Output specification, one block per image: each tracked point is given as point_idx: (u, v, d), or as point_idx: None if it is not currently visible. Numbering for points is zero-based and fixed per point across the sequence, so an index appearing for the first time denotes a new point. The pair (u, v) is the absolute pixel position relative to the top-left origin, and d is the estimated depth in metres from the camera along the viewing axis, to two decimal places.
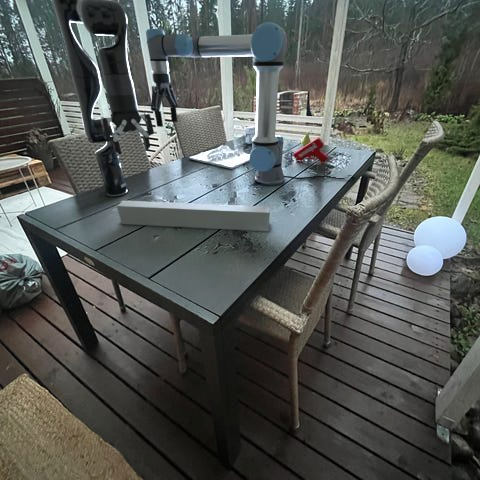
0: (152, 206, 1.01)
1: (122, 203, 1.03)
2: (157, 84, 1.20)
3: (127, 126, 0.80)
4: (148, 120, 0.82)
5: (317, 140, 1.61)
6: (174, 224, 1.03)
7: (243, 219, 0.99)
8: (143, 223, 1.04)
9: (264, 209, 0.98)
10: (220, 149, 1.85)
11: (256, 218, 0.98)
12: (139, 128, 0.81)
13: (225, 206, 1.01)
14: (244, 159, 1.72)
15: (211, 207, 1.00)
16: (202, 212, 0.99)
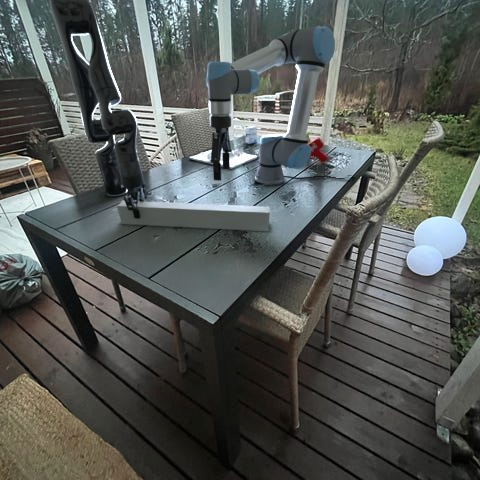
0: (152, 206, 1.01)
1: (122, 203, 1.03)
2: (217, 129, 0.93)
3: None
4: (145, 188, 1.05)
5: (317, 140, 1.61)
6: (174, 224, 1.03)
7: (243, 219, 0.99)
8: (143, 223, 1.04)
9: (264, 209, 0.98)
10: None
11: (256, 218, 0.98)
12: (143, 195, 1.03)
13: (225, 206, 1.01)
14: (244, 159, 1.72)
15: (211, 207, 1.00)
16: (202, 212, 0.99)
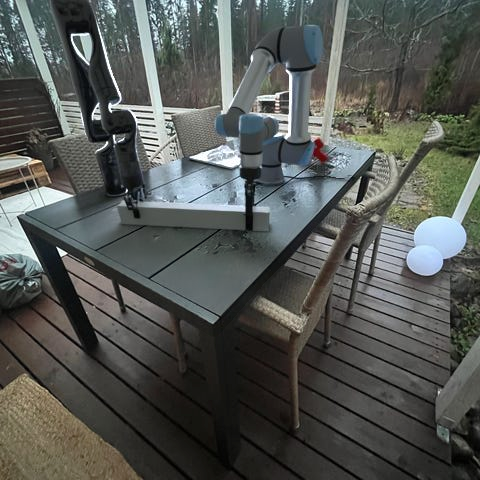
0: (152, 206, 1.01)
1: (122, 203, 1.03)
2: (249, 181, 0.89)
3: None
4: (145, 188, 1.05)
5: (317, 140, 1.61)
6: (174, 224, 1.03)
7: (243, 219, 0.99)
8: (143, 223, 1.04)
9: (264, 209, 0.98)
10: (220, 149, 1.85)
11: (256, 218, 0.98)
12: (143, 195, 1.03)
13: (225, 206, 1.01)
14: None
15: (211, 207, 1.00)
16: (202, 212, 0.99)
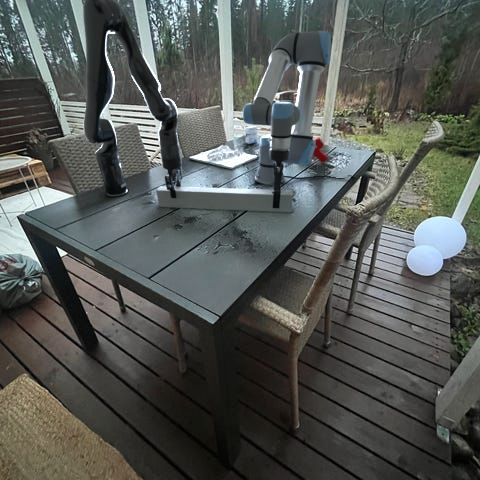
0: (187, 190, 1.14)
1: (160, 188, 1.16)
2: (278, 162, 1.01)
3: None
4: (180, 170, 1.17)
5: (317, 140, 1.61)
6: (206, 206, 1.16)
7: (269, 201, 1.11)
8: (178, 206, 1.17)
9: (288, 192, 1.11)
10: (220, 149, 1.85)
11: (281, 200, 1.11)
12: (179, 176, 1.15)
13: (252, 190, 1.13)
14: (244, 159, 1.72)
15: (240, 191, 1.13)
16: (233, 195, 1.12)
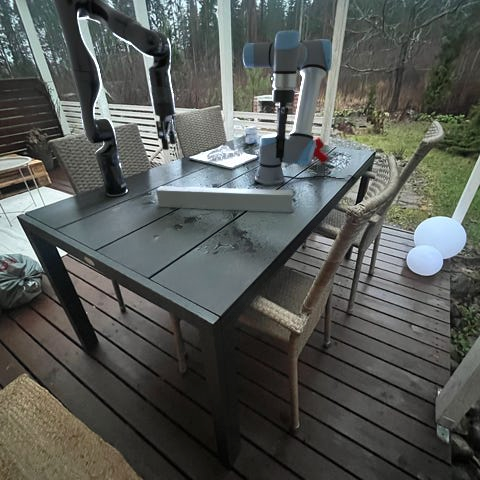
0: (187, 190, 1.14)
1: (160, 188, 1.16)
2: (283, 104, 0.90)
3: None
4: (174, 120, 1.06)
5: (317, 140, 1.61)
6: (206, 206, 1.16)
7: (269, 201, 1.11)
8: (178, 206, 1.17)
9: (288, 192, 1.11)
10: (220, 149, 1.85)
11: (281, 200, 1.11)
12: (173, 127, 1.04)
13: (252, 190, 1.13)
14: (244, 159, 1.72)
15: (240, 191, 1.13)
16: (233, 195, 1.12)
